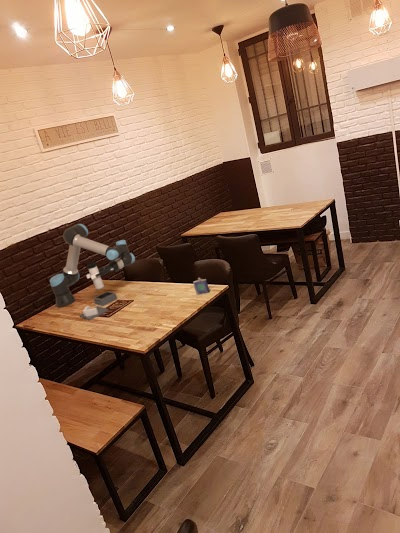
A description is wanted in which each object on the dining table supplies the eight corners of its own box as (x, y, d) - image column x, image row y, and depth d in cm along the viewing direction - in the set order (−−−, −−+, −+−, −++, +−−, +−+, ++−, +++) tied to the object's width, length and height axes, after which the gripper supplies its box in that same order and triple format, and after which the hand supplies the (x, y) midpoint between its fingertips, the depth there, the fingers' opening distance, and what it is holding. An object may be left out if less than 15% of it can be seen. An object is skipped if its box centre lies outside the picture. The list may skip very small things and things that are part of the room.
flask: (196, 294, 265) (191, 279, 262) (197, 293, 268) (192, 278, 265) (209, 292, 263) (205, 277, 260) (210, 291, 265) (206, 276, 262)
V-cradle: (79, 316, 286) (77, 310, 284) (98, 307, 294) (95, 301, 293) (89, 320, 273) (86, 313, 272) (108, 310, 282) (106, 303, 281)
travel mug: (105, 285, 299) (96, 260, 293) (102, 289, 293) (93, 263, 287) (97, 287, 300) (88, 262, 294) (94, 290, 294) (85, 265, 288)
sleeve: (95, 304, 304) (93, 298, 302) (109, 297, 311) (107, 291, 309) (103, 306, 294) (100, 300, 293) (117, 298, 301) (115, 292, 300)
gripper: (124, 270, 297) (96, 283, 284) (111, 268, 312) (85, 281, 299) (121, 260, 295) (93, 273, 282) (108, 259, 310) (81, 271, 296)
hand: (89, 277), depth 290 cm, fingers closed on travel mug, 6 cm apart
